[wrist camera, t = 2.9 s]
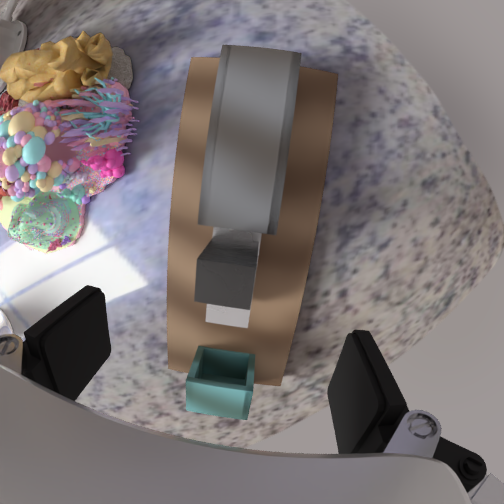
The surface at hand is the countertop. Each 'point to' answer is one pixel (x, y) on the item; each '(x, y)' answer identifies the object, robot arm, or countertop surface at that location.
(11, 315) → the countertop surface
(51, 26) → the countertop surface
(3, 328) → the beer glass
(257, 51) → the tube rig
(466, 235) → the countertop surface
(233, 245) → the inner tube
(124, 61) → the candy landscape model
